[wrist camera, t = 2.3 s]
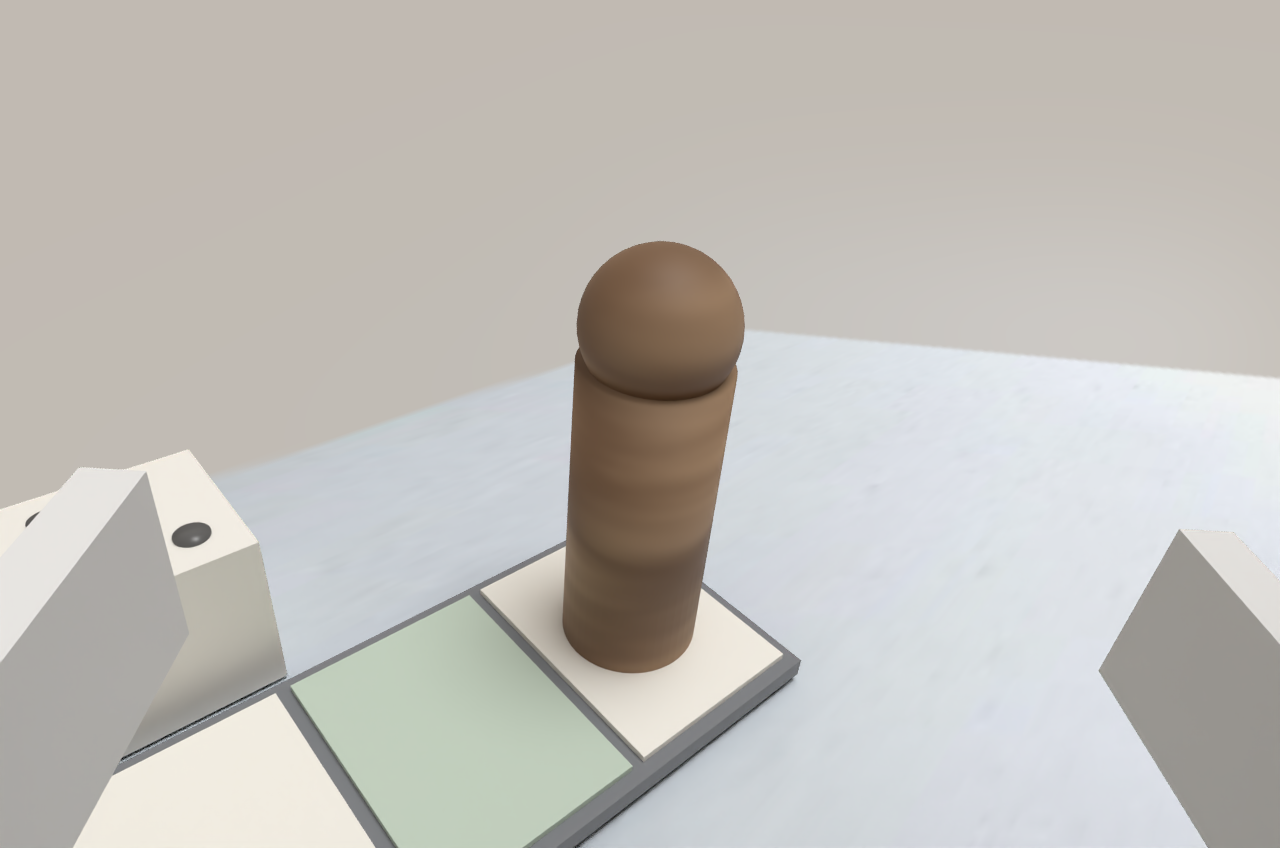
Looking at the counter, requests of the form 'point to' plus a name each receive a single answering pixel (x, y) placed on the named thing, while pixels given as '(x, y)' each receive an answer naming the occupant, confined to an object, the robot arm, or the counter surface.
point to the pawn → (647, 451)
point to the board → (445, 734)
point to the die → (199, 596)
